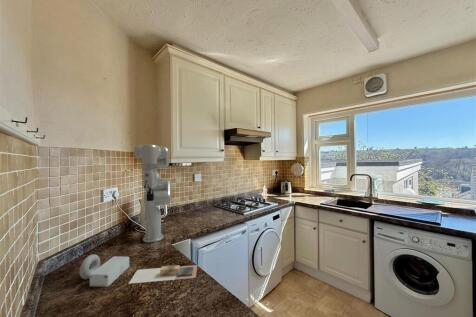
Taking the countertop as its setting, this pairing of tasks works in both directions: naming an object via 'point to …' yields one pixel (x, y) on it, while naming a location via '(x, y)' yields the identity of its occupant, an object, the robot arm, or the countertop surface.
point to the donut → (86, 264)
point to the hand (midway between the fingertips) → (150, 200)
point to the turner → (176, 271)
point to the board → (158, 275)
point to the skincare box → (109, 271)
